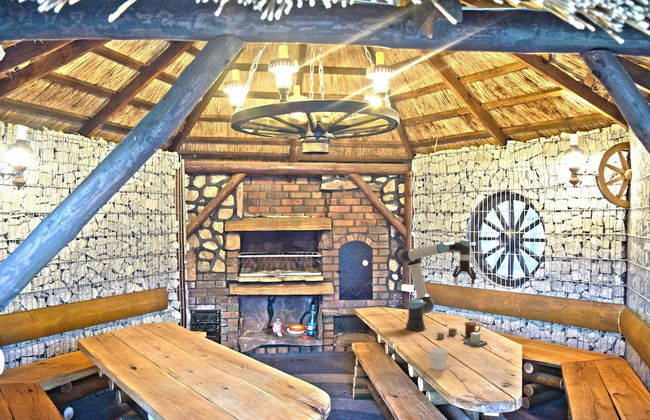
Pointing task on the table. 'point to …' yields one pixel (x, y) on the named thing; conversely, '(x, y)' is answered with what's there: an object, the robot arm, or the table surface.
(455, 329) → the walnut block
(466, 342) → the tray
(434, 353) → the cup
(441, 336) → the rubber puck
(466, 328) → the mug
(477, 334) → the sage brick
